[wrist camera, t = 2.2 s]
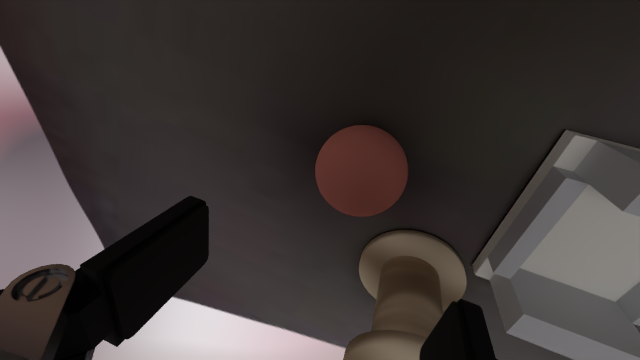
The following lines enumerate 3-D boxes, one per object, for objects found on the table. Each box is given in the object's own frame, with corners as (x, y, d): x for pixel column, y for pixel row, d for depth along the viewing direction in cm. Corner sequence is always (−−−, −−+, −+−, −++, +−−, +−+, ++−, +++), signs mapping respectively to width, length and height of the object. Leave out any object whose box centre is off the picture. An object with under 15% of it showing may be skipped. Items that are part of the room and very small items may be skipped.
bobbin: (376, 215, 20) (352, 314, 13) (485, 253, 19) (530, 390, 11) (350, 283, 24) (321, 389, 17) (438, 319, 23) (449, 452, 15)
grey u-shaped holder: (566, 129, 14) (628, 165, 10) (761, 180, 13) (933, 246, 9) (472, 264, 20) (487, 325, 15) (603, 311, 18) (660, 393, 14)
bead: (339, 105, 18) (311, 127, 13) (422, 129, 17) (424, 162, 12) (322, 176, 20) (294, 215, 16) (393, 200, 19) (385, 249, 15)
